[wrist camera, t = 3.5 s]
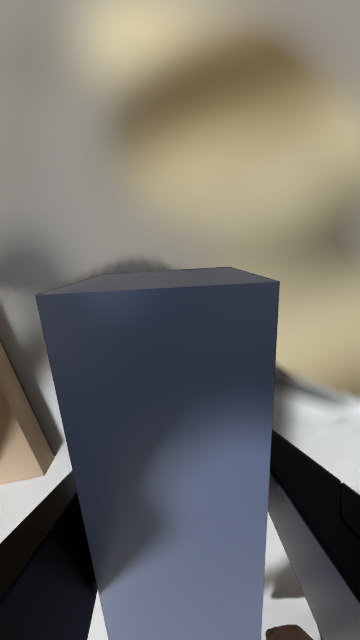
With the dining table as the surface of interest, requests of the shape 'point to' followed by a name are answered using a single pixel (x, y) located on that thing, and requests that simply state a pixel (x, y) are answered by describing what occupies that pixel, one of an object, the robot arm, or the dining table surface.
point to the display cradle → (19, 431)
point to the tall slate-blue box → (170, 442)
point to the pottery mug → (288, 633)
